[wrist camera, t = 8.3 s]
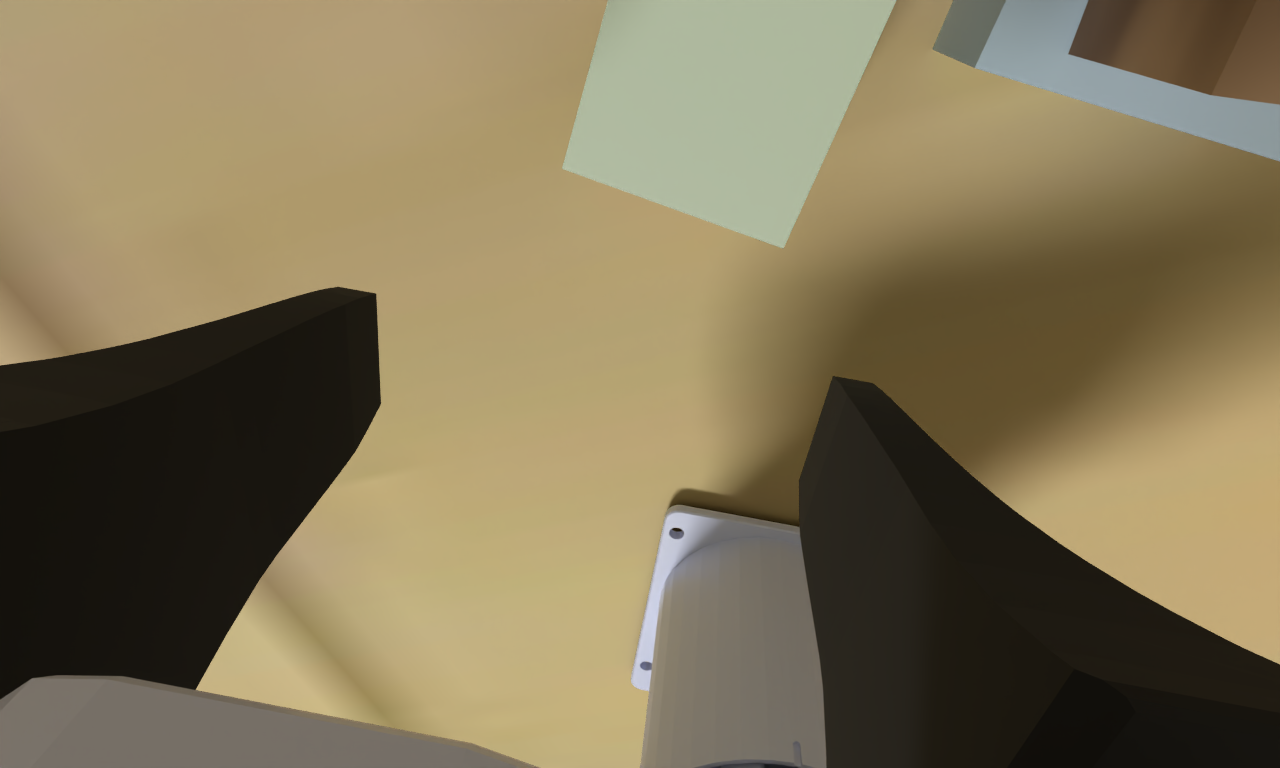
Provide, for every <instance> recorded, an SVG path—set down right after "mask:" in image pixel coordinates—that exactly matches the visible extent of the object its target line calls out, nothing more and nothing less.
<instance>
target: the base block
mask: <svg viewBox="0 0 1280 768" xmlns="http://www.w3.org/2000/svg"><path fill="white" fill-rule="evenodd" d="M1087 3H1088V0H953V3H952V5H951V7H950V9H949V12H948V14H947V16H946V19H945V21H944V23H943V26H942V28H941V30H940V33H939V35H938V37H937V40H936V42H935V44H934V47H933V50H935V51H937V52H939V53H942V54H944V55H946V56H949V57H951V58H953V59H955V60H958V61H960V62H962V63H965V64H967V65H969V66H971V67H974V68H976V69H980V70H983V71H986V72H990V73H993V74H996V75H999V76H1003V77H1006V78H1009V79H1012V80H1016V81H1019V82H1022V83H1025V84H1029V85H1032V86H1035V87H1038V88H1042V89H1045V90H1048V91H1052V92H1055V93H1058V94H1061V95H1065V96H1068V97H1071V98H1074V99H1078V100H1081V101H1084V102H1087V103H1091V104H1094V105H1097V106H1100V107H1104V108H1107V109H1110V110H1114V111H1117V112H1120V113H1123V114H1127V115H1130V116H1133V117H1136V118H1140V119H1143V120H1146V121H1149V122H1153V123H1156V124H1159V125H1162V126H1166V127H1169V128H1172V129H1176V130H1179V131H1182V132H1185V133H1189V134H1192V135H1195V136H1198V137H1202V138H1205V139H1208V140H1211V141H1215V142H1218V143H1221V144H1224V145H1228V146H1231V147H1234V148H1238V149H1241V150H1244V151H1247V152H1251V153H1254V154H1257V155H1260V156H1264V157H1267V158H1270V159H1273V160H1277V161H1280V105H1278V104H1271V103H1263V102H1256V101H1249V100H1241V99H1234V98H1227V97H1219V96H1212V95H1208V94H1205V93H1201V92H1198V91H1194V90H1191V89H1187V88H1184V87H1180V86H1177V85H1173V84H1170V83H1166V82H1163V81H1159V80H1156V79H1153V78H1149V77H1146V76H1142V75H1139V74H1135V73H1132V72H1128V71H1125V70H1121V69H1118V68H1114V67H1111V66H1107V65H1104V64H1100V63H1097V62H1094V61H1090V60H1087V59H1083V58H1080V57H1076V56H1073V55H1069V54H1068V53H1069V50H1070V48H1071V45H1072V43H1073V40H1074V37H1075V35H1076V32H1077V29H1078V27H1079V24H1080V21H1081V19H1082V16H1083V13H1084V11H1085V8H1086V6H1087Z"/></svg>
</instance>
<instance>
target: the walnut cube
mask: <svg viewBox="0 0 1280 768" xmlns="http://www.w3.org/2000/svg"><path fill="white" fill-rule="evenodd" d="M1068 54H1069V55H1073V56H1076V57H1080V58H1083V59H1087V60H1090V61H1094V62H1097V63H1100V64H1104V65H1107V66H1111V67H1114V68H1118V69H1121V70H1125V71H1128V72H1132V73H1135V74H1139V75H1142V76H1146V77H1149V78H1153V79H1156V80H1159V81H1163V82H1166V83H1170V84H1173V85H1177V86H1180V87H1184V88H1187V89H1191V90H1194V91H1198V92H1201V93H1205V94H1208V95H1212V96H1219V97H1227V98H1234V99H1241V100H1249V101H1256V102H1263V103H1271V104H1278V105H1280V0H1088V3H1087V6H1086V8H1085V11H1084V13H1083V16H1082V19H1081V21H1080V24H1079V27H1078V29H1077V32H1076V35H1075V37H1074V40H1073V43H1072V45H1071V48H1070V50H1069V53H1068Z"/></svg>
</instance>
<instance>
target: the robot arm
mask: <svg viewBox="0 0 1280 768" xmlns="http://www.w3.org/2000/svg"><path fill="white" fill-rule="evenodd" d="M380 405H381V397H380V373H379V349H378V325H377V301H376V294H375V293H369V292H364V291H358V290H353V289H347V288H342V287H334V288H328V289H323V290H318V291H314V292H310V293H307V294H303V295H299V296H296V297H292V298H289V299H286V300H282V301H279V302H276V303H272V304H269V305H266V306H263V307H259V308H256V309H253V310H249V311H246V312H243V313H240V314H236V315H233V316H230V317H227V318H223V319H220V320H217V321H213V322H209V323H205V324H202V325H198V326H194V327H191V328H187V329H183V330H180V331H176V332H172V333H169V334H165V335H161V336H158V337H154V338H150V339H146V340H142V341H138V342H133V343H129V344H124V345H120V346H115V347H111V348H106V349H101V350H95V351H90V352H85V353H80V354H75V355H69V356H64V357H58V358H52V359H46V360H38V361H31V362H23V363H16V364H8V365H1V366H0V768H539V767H536V766H533V765H531V764H528V763H525V762H522V761H519V760H517V759H514V758H511V757H508V756H506V755H503V754H500V753H497V752H494V751H492V750H489V749H486V748H483V747H481V746H478V745H475V744H472V743H467V742H462V741H457V740H452V739H447V738H441V737H436V736H431V735H426V734H421V733H415V732H410V731H405V730H400V729H395V728H389V727H384V726H379V725H374V724H369V723H363V722H358V721H353V720H348V719H343V718H337V717H332V716H327V715H322V714H317V713H311V712H306V711H301V710H296V709H291V708H286V707H280V706H275V705H270V704H265V703H260V702H254V701H249V700H244V699H239V698H234V697H228V696H223V695H218V694H213V693H208V692H202V691H197V690H196V688H197V686H198V684H199V682H200V681H201V679H202V677H203V675H204V674H205V672H206V670H207V668H208V666H209V665H210V663H211V661H212V659H213V658H214V656H215V654H216V652H217V650H218V649H219V647H220V645H221V643H222V642H223V640H224V638H225V636H226V634H227V633H228V631H229V629H230V628H231V626H232V625H233V623H234V621H235V620H236V618H237V616H238V615H239V613H240V611H241V610H242V608H243V606H244V605H245V603H246V601H247V600H248V598H249V596H250V595H251V593H252V591H253V590H254V588H255V586H256V585H257V583H258V581H259V580H260V578H261V577H262V575H263V574H264V573H265V571H266V570H267V568H268V567H269V565H270V564H271V563H272V561H273V560H274V558H275V557H276V555H277V554H278V553H279V551H280V550H281V549H282V548H283V546H284V545H285V544H286V542H287V541H288V540H289V538H290V537H291V536H292V535H293V533H294V532H295V531H296V529H297V528H298V527H299V525H300V524H301V523H302V522H303V520H304V519H305V518H306V516H307V515H308V514H309V512H310V511H311V510H312V509H313V507H314V506H315V505H316V503H317V502H318V501H319V499H320V498H321V497H322V496H323V494H324V493H325V492H326V490H327V489H328V488H329V486H330V485H331V484H332V482H333V481H334V480H335V478H336V477H337V476H338V474H339V473H340V472H341V470H342V469H343V468H344V466H345V465H346V464H347V462H348V461H349V460H350V458H351V457H352V455H353V454H354V453H355V451H356V449H357V448H358V446H359V444H360V442H361V441H362V439H363V437H364V435H365V433H366V432H367V430H368V428H369V426H370V424H371V422H372V420H373V418H374V416H375V414H376V412H377V410H378V408H379V407H380ZM799 521H800V527H797V526H792V525H787V524H781V523H776V522H771V521H765V520H760V519H754V518H749V517H744V516H738V515H733V514H728V513H722V512H717V511H711V510H706V509H701V508H695V507H690V506H685V505H675V506H671V507H670V508H669V509H668V510H667V512H666V514H665V519H664V523H663V528H662V533H661V537H660V542H659V547H658V552H657V556H656V561H655V566H654V571H653V575H652V580H651V585H650V589H649V594H648V599H647V604H646V608H645V613H644V618H643V622H642V627H641V632H640V637H639V641H638V646H637V651H636V655H635V660H634V665H633V670H632V675H631V683H632V684H633V686H635V687H636V688H638V689H641V690H646V691H649V696H648V705H647V713H646V722H645V731H644V739H643V748H642V756H641V765H640V768H1280V665H1279V664H1277V663H1275V662H1273V661H1271V660H1268V659H1266V658H1264V657H1262V656H1260V655H1257V654H1255V653H1253V652H1251V651H1249V650H1246V649H1244V648H1242V647H1240V646H1238V645H1236V644H1234V643H1232V642H1230V641H1228V640H1226V639H1224V638H1222V637H1220V636H1218V635H1216V634H1214V633H1212V632H1210V631H1209V630H1207V629H1205V628H1203V627H1201V626H1199V625H1197V624H1195V623H1193V622H1191V621H1189V620H1187V619H1185V618H1183V617H1182V616H1180V615H1178V614H1176V613H1174V612H1172V611H1170V610H1168V609H1167V608H1165V607H1163V606H1161V605H1159V604H1158V603H1156V602H1154V601H1152V600H1150V599H1149V598H1147V597H1145V596H1143V595H1141V594H1140V593H1138V592H1136V591H1134V590H1133V589H1131V588H1129V587H1128V586H1126V585H1124V584H1123V583H1121V582H1120V581H1118V580H1116V579H1115V578H1113V577H1111V576H1110V575H1108V574H1106V573H1105V572H1103V571H1102V570H1100V569H1098V568H1097V567H1095V566H1093V565H1092V564H1090V563H1089V562H1087V561H1085V560H1084V559H1082V558H1081V557H1079V556H1078V555H1076V554H1075V553H1073V552H1072V551H1070V550H1069V549H1067V548H1065V547H1064V546H1062V545H1061V544H1060V543H1058V542H1057V541H1055V540H1054V539H1053V538H1051V537H1050V536H1048V535H1047V534H1046V533H1044V532H1043V531H1041V530H1040V529H1039V528H1037V527H1036V526H1035V525H1033V524H1032V523H1030V522H1029V521H1028V520H1026V519H1025V518H1023V517H1022V516H1021V515H1019V514H1018V513H1017V512H1015V511H1014V510H1013V509H1012V508H1010V507H1009V506H1008V505H1006V504H1005V503H1004V502H1003V501H1001V500H1000V499H999V498H998V497H997V496H995V495H994V494H993V493H992V492H991V491H989V490H988V489H987V488H986V487H985V486H984V485H982V484H981V483H980V482H979V481H978V480H976V479H975V478H974V477H973V476H972V475H971V474H969V473H968V472H967V471H966V470H965V469H964V468H963V467H962V466H960V465H959V464H958V463H957V462H956V461H955V460H954V459H953V458H952V457H951V456H950V455H948V454H947V453H946V452H945V451H944V450H943V449H942V448H941V447H940V446H939V445H938V444H937V443H936V442H935V441H934V440H933V439H932V438H931V437H929V436H928V435H927V434H926V433H925V432H924V431H923V430H922V429H921V428H920V427H919V426H918V425H917V424H916V423H915V422H914V421H913V420H912V419H911V418H910V417H909V416H908V415H907V414H906V413H905V412H904V411H903V410H902V409H901V408H900V407H899V406H898V405H897V404H896V403H895V402H894V401H893V400H892V399H891V398H889V397H888V396H887V395H886V394H885V393H884V392H883V391H882V390H881V389H879V388H878V387H877V386H876V385H874V384H873V383H869V382H863V381H857V380H852V379H846V378H841V377H835V376H833V378H832V381H831V384H830V387H829V390H828V393H827V397H826V400H825V403H824V406H823V409H822V412H821V415H820V418H819V421H818V424H817V427H816V430H815V434H814V437H813V440H812V443H811V446H810V449H809V452H808V455H807V458H806V461H805V464H804V467H803V471H802V474H801V477H800V480H799ZM672 528H680V529H682V531H680V532H676V531H673V530H672Z"/></svg>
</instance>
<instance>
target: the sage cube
mask: <svg viewBox="0 0 1280 768" xmlns="http://www.w3.org/2000/svg"><path fill="white" fill-rule="evenodd" d="M895 2H896V0H608V2H607V6H606V10H605V13H604V17H603V21H602V24H601V28H600V32H599V35H598V39H597V43H596V46H595V50H594V54H593V57H592V61H591V65H590V68H589V72H588V76H587V79H586V83H585V87H584V90H583V94H582V98H581V101H580V105H579V109H578V112H577V116H576V120H575V123H574V127H573V131H572V134H571V138H570V142H569V145H568V149H567V153H566V156H565V160H564V164H563V167H562V169H564V170H567V171H570V172H573V173H575V174H578V175H581V176H584V177H586V178H589V179H592V180H595V181H597V182H600V183H603V184H606V185H608V186H611V187H614V188H617V189H620V190H622V191H625V192H628V193H631V194H633V195H636V196H639V197H642V198H644V199H647V200H650V201H653V202H656V203H658V204H661V205H664V206H667V207H669V208H672V209H675V210H678V211H680V212H683V213H686V214H689V215H692V216H694V217H697V218H700V219H703V220H705V221H708V222H711V223H714V224H716V225H719V226H722V227H725V228H728V229H730V230H733V231H736V232H739V233H741V234H744V235H747V236H750V237H752V238H755V239H758V240H761V241H763V242H766V243H769V244H772V245H775V246H777V247H780V248H784V246H785V244H786V242H787V239H788V237H789V235H790V233H791V231H792V228H793V226H794V224H795V222H796V220H797V218H798V215H799V213H800V211H801V209H802V207H803V204H804V202H805V200H806V198H807V196H808V193H809V191H810V189H811V187H812V185H813V182H814V180H815V178H816V176H817V174H818V171H819V169H820V167H821V165H822V163H823V160H824V158H825V156H826V154H827V152H828V149H829V147H830V145H831V143H832V141H833V139H834V136H835V134H836V132H837V130H838V128H839V125H840V123H841V121H842V119H843V117H844V114H845V112H846V110H847V108H848V106H849V103H850V101H851V99H852V97H853V95H854V92H855V90H856V88H857V86H858V84H859V81H860V79H861V77H862V75H863V73H864V71H865V68H866V66H867V64H868V62H869V60H870V57H871V55H872V53H873V51H874V49H875V46H876V44H877V42H878V40H879V38H880V35H881V33H882V31H883V29H884V27H885V24H886V22H887V20H888V18H889V16H890V13H891V11H892V9H893V7H894V5H895Z"/></svg>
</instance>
